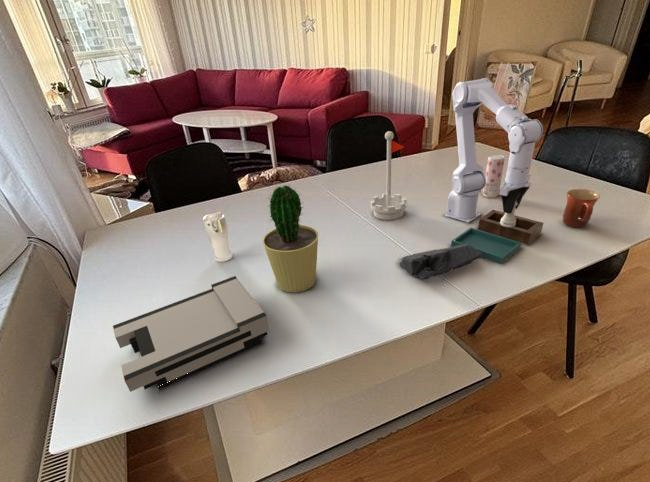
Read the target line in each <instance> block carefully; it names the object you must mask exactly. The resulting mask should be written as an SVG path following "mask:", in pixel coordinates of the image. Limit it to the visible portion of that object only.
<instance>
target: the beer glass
mask: <svg viewBox="0 0 650 482" xmlns="http://www.w3.org/2000/svg"><path fill="white" fill-rule="evenodd" d="M202 220H203V225H204V229H205V233H206V235H207V238H208V240H209V242H210V245H211V246H212V249H213V253H214V260H215V261H216V262H218V263H225V262H228V261H230V260H231V259H232V258H233V257H234V254H233V251H232V249H231V245H230V232H229V227H228V223H227V219H226V217H225V214H224V213H223V212H220V211H219V212H218V211H217V212H212V213H208V214H206V215H204V217H203V218H202ZM231 253H232V255H231V256H230V257H228V258H226V259H216V258H215V256H216V257H218V258H223V257H227V256H229V255H230V254H231Z"/></svg>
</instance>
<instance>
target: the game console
mask: <svg viewBox="0 0 650 482" xmlns="http://www.w3.org/2000/svg"><path fill="white" fill-rule="evenodd" d="M112 329H113V333H114V338H115V340H116V342H117V345H118V346H119V348H120V349H122V348H124V347H127V346H129V345H130V346H131V348H132V350H133V353H134V354H138V353H139V354H140V357H138V358H136V359H135V358H134V359H132V360H130V361H128V362H125V363H123V364H121V365H120V366H121V371H122V376H123V380H124V383H125V385H126V386H127V388H128V391H129V392H130V393H131V392H133V391H136V390H139V389H140V388H143V389H144V390H147V389H150V388H152V387H154V386H157V388H158V389H157V390H158V391H161V390H163V389H165V388H167V387H169V386H171V385H173V384H176V383H177V382H180V381H182V380H184V379H187V378H189V377H191V376H194V375H196V374H198V373H200V372H202V371H204V370H207V369H209V368H211V367H214V366H217V365H218V364H220V363H223V362H224V361H227V360H229V359H231V358H233V357H236V356H237V355H238V356H239V355H240V354H242V353H244V352H245V353H246V351H249V350H252V349H254V348H255V347H257V346H260V345H262V344H263V341H262V339H263V338H265V337H267V336H269V333H268V332H269V331H271V330H270V325H269V320H268V316H267V314H266V313H265V312H264V310H263V309H262V308H261V306H260V305H259V304H258V303H257V301H256V300H255V299H254V298H253V296H252V295H251V294H250V292H249V291H248V290H247V289H246V288H245V286H244V284H243V283H242V282H241V281H240V279H238V277H237V276H236V275H234V276H231V277H228V278H226V279H223V280H220V281H218V282H215V283H212V284H211V288H209V289H207V290H205V291H202V292H199V293H196V294H194V295H192V296H188V297H185V298H183V299H180V300H178V301H175V302H172V303H170V304H167V305H164V306H162V307H159V308H156V309H154V310H151V311H148V312H146V313H142V314H141V315H138V316H135V317H132V318H129V319H127V320H124V321H121V322H119V323H116V324H114V325H112ZM187 373H188V374H187ZM176 378H177V379H176ZM169 381H170V382H169ZM167 382H168V383H167ZM162 384H163V385H162ZM160 385H161V386H160ZM158 386H159V387H158Z"/></svg>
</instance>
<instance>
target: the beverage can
mask: <svg viewBox="0 0 650 482" xmlns="http://www.w3.org/2000/svg"><path fill="white" fill-rule="evenodd" d="M504 164H505V156H504V155H503V154H491V155H489V156H488V158H487V163H486V169H485V174H484V175H485V177H486V185H485V187H484V188H483V189H482V196H484V197H486V198H491V199H492V198H493V199H494V198H497V197H498V196H500V195H499V190H500V188H501V183H502V178H503V177H502V176H503V170H504V166H505V165H504Z"/></svg>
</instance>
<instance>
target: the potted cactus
mask: <svg viewBox="0 0 650 482" xmlns="http://www.w3.org/2000/svg"><path fill="white" fill-rule="evenodd" d="M279 185H280V186H279ZM279 185H276V187H275V188H274V189H272V193H269V196H270V197H267V199H269V205H267V207H268V208H269V209H268V210H266V211H268V212H269V214H270V218H269V219H268V221H269V222H270V221H272V222H273V224H274V226H275V228H274V229H272V230H269V232H267V233H266V234H265V235H264V236H263V238H262V244H263V247H264V250H265V252H266V255H267V258H268V261H269V264H270V267H271V270H272V273H273V275H274V278H275V281H276V284H277V286H278V288H279V289H280V290H282V291H284V292H286V293H300V292H305V291H307V290H309V289H311V288H312V287H313V286H314V285H315V283H316V279H317V264H318V263H317V262H318V246H319V231H317V230H316V229H315V228H314V227H312V226H310V225H305V224H301V223H302V222H303V221H301V220H302V218H301V216H303V215H304V213H302V209H303V208H302V204H305V203H304V201H303V202H301V201H302V200H301V197H300V196H301V193H299V192H298V191H296V189H294V188H295V187H291V185H285V184H284V185H281V184H279Z"/></svg>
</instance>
